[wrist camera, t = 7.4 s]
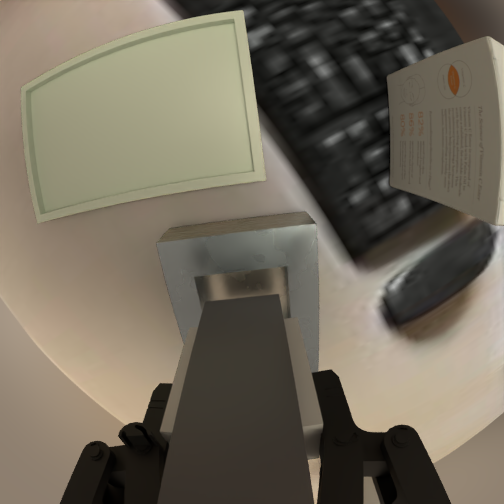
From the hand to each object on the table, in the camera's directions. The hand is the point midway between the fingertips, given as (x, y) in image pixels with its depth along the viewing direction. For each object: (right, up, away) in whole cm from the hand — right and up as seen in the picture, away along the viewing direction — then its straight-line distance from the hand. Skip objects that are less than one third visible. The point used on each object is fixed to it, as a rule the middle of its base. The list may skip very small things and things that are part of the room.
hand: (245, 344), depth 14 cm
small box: (+12, +13, +2) cm, 18 cm away
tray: (-8, +14, +1) cm, 16 cm away
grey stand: (+1, -2, +7) cm, 8 cm away
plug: (0, +1, +2) cm, 2 cm away
